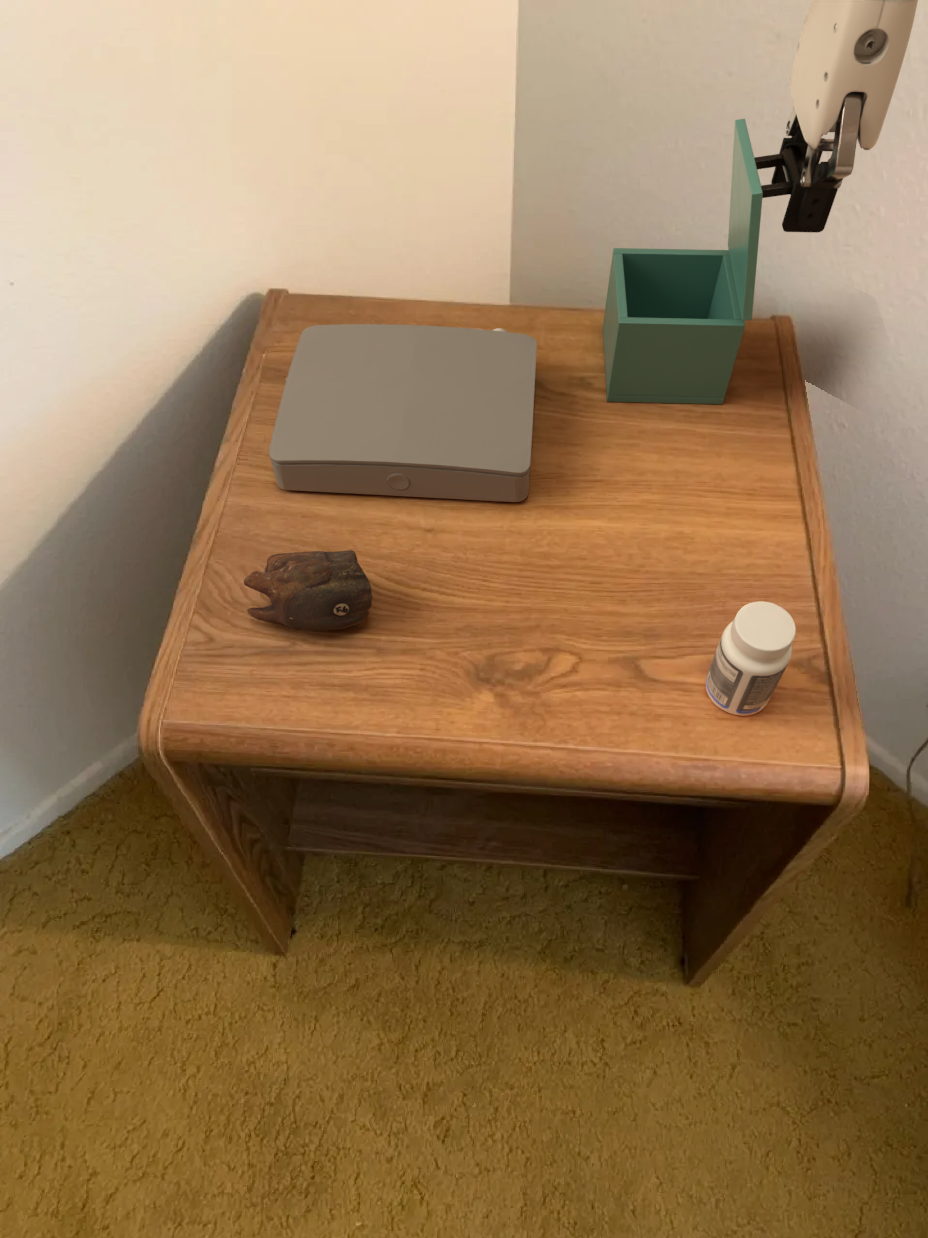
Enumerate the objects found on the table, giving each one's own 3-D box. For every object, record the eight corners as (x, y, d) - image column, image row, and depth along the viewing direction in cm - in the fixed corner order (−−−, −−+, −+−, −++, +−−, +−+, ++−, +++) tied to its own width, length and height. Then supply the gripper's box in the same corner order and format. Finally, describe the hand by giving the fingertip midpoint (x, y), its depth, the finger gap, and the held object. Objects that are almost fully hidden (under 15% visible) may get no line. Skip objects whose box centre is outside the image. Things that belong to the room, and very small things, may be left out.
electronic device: (313, 346, 90) (305, 303, 86) (535, 356, 89) (538, 312, 85) (274, 492, 79) (263, 451, 75) (527, 506, 78) (530, 464, 74)
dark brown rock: (225, 587, 67) (358, 567, 66) (246, 548, 73) (370, 529, 71) (249, 656, 70) (378, 638, 69) (268, 614, 76) (387, 596, 74)
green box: (606, 401, 85) (618, 322, 78) (602, 327, 91) (613, 247, 84) (722, 404, 85) (745, 325, 77) (710, 329, 91) (731, 249, 83)
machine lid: (751, 193, 68) (821, 184, 67) (734, 119, 74) (798, 109, 73) (742, 321, 77) (803, 314, 76) (727, 245, 83) (784, 238, 82)
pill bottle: (774, 671, 69) (807, 606, 62) (764, 725, 66) (797, 663, 59) (710, 654, 69) (736, 588, 63) (698, 706, 67) (723, 643, 60)
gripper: (972, 7, 54) (864, 275, 70) (907, -106, 64) (824, 151, 79) (843, 6, 55) (763, 273, 70) (797, -107, 64) (735, 149, 79)
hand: (796, 206), depth 74 cm, fingers closed on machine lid, 5 cm apart
